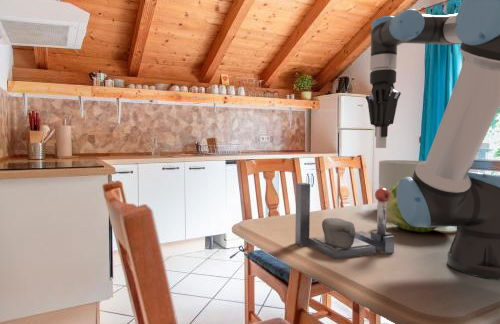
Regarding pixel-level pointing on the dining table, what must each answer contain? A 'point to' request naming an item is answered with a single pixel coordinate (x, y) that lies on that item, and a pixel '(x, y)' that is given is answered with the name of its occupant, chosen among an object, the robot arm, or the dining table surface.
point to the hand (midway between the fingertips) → (380, 147)
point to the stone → (338, 233)
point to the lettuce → (396, 217)
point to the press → (359, 247)
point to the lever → (381, 215)
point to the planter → (395, 171)
